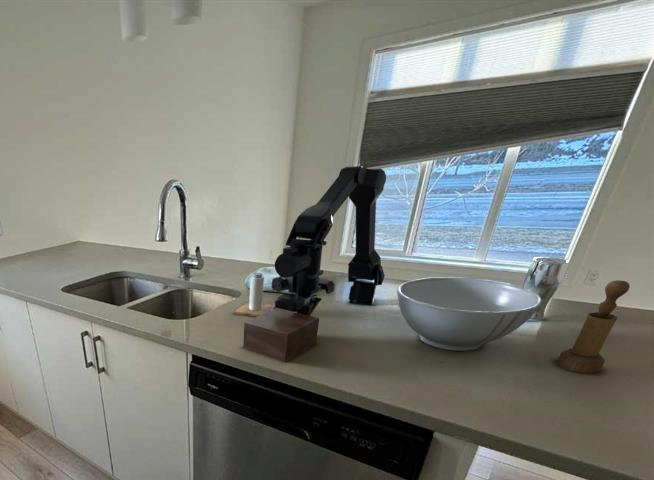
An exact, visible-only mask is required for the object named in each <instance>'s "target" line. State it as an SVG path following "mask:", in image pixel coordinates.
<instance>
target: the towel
mask: <svg viewBox="0 0 654 480" xmlns="http://www.w3.org/2000/svg"><path fill="white" fill-rule="evenodd" d="M253 273H262V276H264V284H263V292H271V293H277V292H276V290H273V288H272V287H271V286H272V279H273V278H276V277H280V276H279V275H278V274H277V272H276V270H275V266H263V267H259V268H258V269H257V270H255V271H253V272H252V273H250V274H248V276H246V279H245V282H244V287H245V288H246V289H250V277H251V276H253ZM288 290H289V289H288ZM288 290H283V291H280V292H279V293H280V294H285V293H288V294H293V295H295V292H288Z"/></svg>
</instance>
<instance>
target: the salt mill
mask: <svg viewBox="0 0 654 480" xmlns="http://www.w3.org/2000/svg"><path fill="white" fill-rule="evenodd" d="M252 273H253V272H252ZM263 284H264V276H262V273H253V276H251V277H250V288H249V298H248V300H249V301H248V302H249V309H250V310H261V309H262V304H263V299H264V298H263V297H264V291H263Z"/></svg>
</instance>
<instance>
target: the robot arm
mask: <svg viewBox="0 0 654 480" xmlns="http://www.w3.org/2000/svg"><path fill="white" fill-rule="evenodd" d="M386 181H387V174H386V171H385V170H384V169H382V168H367V167H365V166H362V165H355V166H352V165H351V166H344V167H343V168H341V169H340V171H339V173H338V176H337V177H336V179H335V180H334V181H333V183H332V184H331V185H330V186H329V187H328V188H327V190H326V191H325V193H323V195H322V196H321V198H320V199H319V200H318V201H317V202H316V203H315V204H314V205H311V206H308V207H307V208H305V209H304V210H303V211H302V212H301V213H300V214H299V215H298V216H297V217H296V220H295V221H294V223H293V225H292V228H291V230H290V232H289V235H288V237H287V239H286V242H285V247H283V248H282V253H281V254H279V255H278V256H277V257H276V259H275V260H274V267H275V270H276V272H277V274H278V275H279V276H280V277H276V278H273V279H272V286H271V287H272V288H273V290H276V292H275V293H280V291H283V290H288V289H289V290H288V292H295V294H289V293H282V294H281V295H279V296H278V297H277V298H275V299H274V305H275V308H278V309H282V310H287V311H291V312H295V313H299V314H304V315H308V316H311V315H312V314H313V312H314V310H315V309H316V308H317V307H318V305H319V303H320V302H321V301H322V300H323V299H322V298H321V297H318V295H317V293H320V292H321V291H325V293H326V294H327V295H330V294H331V293H333V292H335V286H336V284H335V283H334V281H333V280H331V279H324V278H320V276H322V275H323V274H324V269H321V263H322V256H323V247H325V246H326V245H327V243H328V241H326V238H327V236H328V234H329V233H330V232H331V230H332V227H333V226H334V221H333V218H334V216H335V215H336V213H337V212H338V210H340V208H341V207H342V206H343V204H344V203H345V202H346V201H347V199H348V198H349V200H350V201H351V203H352V204H353V206H354V207H355V254H354V255H353V257H352V258H351V260H349V262H348V263H347V265H348V269H347V282H348V283H352V284H351V286H350V288H349V293H348V303H349V304H354V305H363V306H365V305H366V306H372V305H373V303H374V301H375V295H376V289H377V286H383V282H384V280H385V277H386V275H385V272H384V269H383V266H382V260H381V256H380V255H379V253H378V252H377V250H375V247H376V246H375V245H376V218H377V216H376V215H377V200H378V199H379V197H380V196H381V195H382V193H383V191H384V190H385V185H386ZM275 308H274V309H275Z"/></svg>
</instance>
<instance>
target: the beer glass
mask: <svg viewBox="0 0 654 480" xmlns="http://www.w3.org/2000/svg"><path fill="white" fill-rule="evenodd" d="M569 262H570V260H569V259H567V258H563V257H554V256H538V257H537V256H536V257H534V258H533V259H532V261H531V264H530V266H529V268H528V269H527V271H526V274H525V276H524V280H523V285H522V288H525V289H527V290H530V291H532V292H534V293H536V294H537V295H538V296H540V298H541V299H542V303H541V305H540V307H539V308H538V309H537V311H536V312H535V313H534V314H533V315H532V316H531V317H530V318H529V319H528V320H527V321H530V322H538V321H539V322H540V321H542V320H544V317H545V311H546V308H547V306H548V303H549V302H550V301H551V299H552V298H553V296H554V295H555V293H556V292H557V291H558V289H559V287H560V285H561V284H562V281H563V280H564V276H565V274H566V271H567V269H568V267H569V266H568V265H569ZM527 321H526V322H527Z"/></svg>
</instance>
